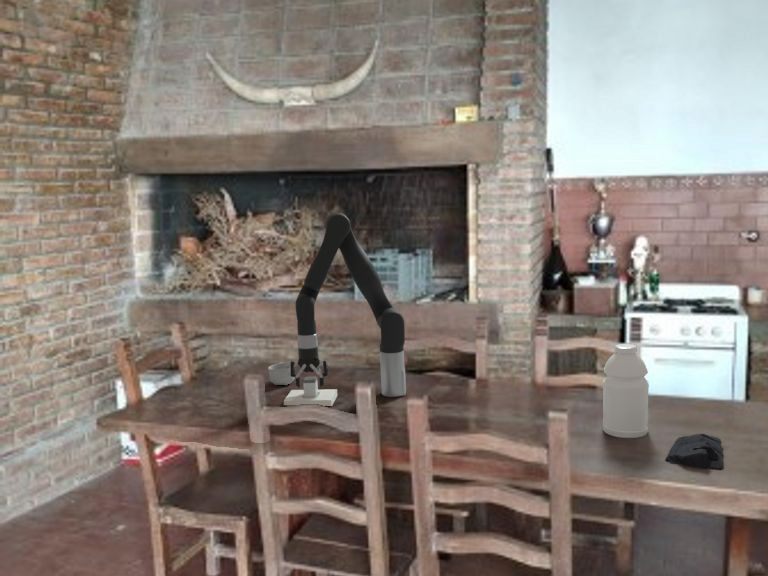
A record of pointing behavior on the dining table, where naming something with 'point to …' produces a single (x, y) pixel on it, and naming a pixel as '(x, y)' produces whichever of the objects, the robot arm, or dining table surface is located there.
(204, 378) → the dining table surface
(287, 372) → the teacup
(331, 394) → the socket plate
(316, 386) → the plug
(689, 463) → the dark slate chunk
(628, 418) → the bottle
